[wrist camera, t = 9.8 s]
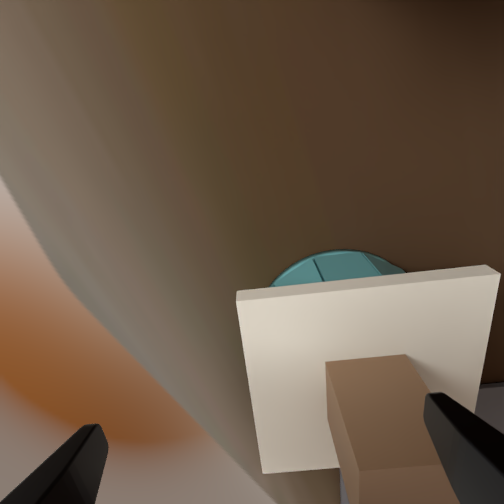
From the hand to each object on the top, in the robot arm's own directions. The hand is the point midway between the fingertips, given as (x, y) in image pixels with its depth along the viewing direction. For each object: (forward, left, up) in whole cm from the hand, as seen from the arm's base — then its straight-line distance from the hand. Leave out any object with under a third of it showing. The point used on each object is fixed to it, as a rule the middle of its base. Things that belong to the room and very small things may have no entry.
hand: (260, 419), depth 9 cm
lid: (-5, +6, -8) cm, 11 cm away
